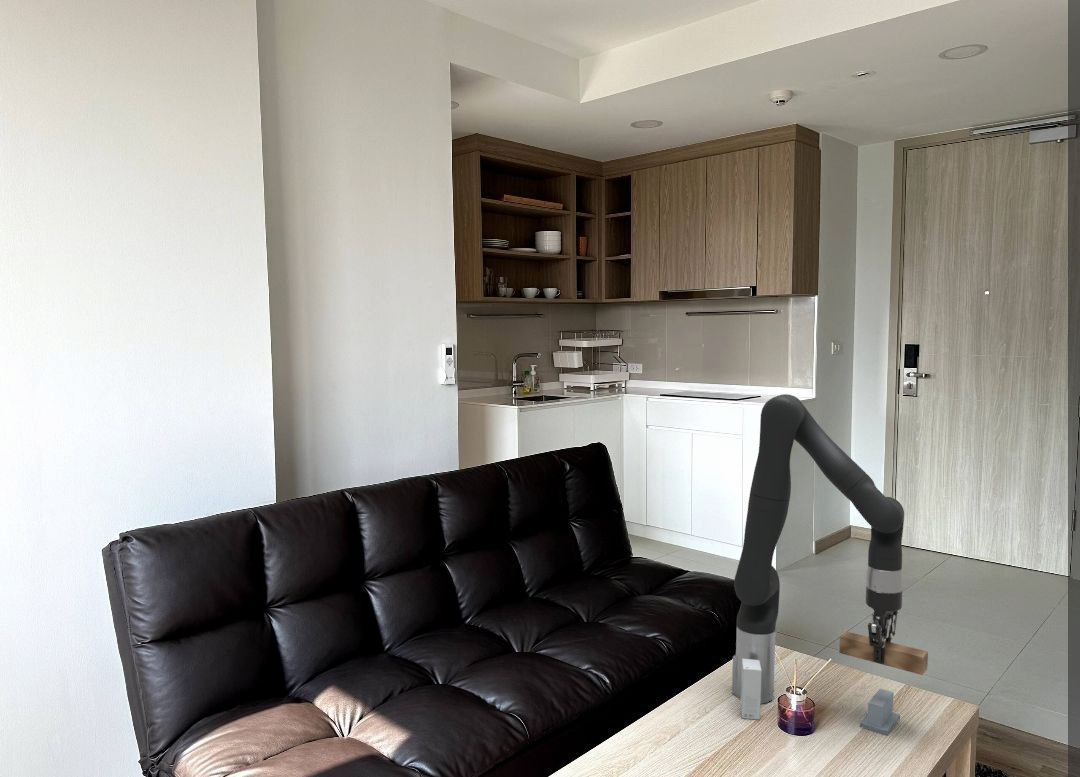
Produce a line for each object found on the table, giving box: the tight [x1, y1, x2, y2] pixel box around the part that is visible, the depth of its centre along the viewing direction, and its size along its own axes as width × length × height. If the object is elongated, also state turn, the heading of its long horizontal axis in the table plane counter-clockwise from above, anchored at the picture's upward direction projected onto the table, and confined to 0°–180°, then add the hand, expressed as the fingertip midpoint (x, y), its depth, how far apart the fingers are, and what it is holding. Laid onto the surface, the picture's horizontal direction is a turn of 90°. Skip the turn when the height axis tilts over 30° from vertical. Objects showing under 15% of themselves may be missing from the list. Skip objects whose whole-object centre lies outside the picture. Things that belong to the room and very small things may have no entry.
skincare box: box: [740, 659, 761, 721], centre depth 183 cm, size 6×4×12 cm
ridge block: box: [859, 688, 901, 736], centre depth 179 cm, size 6×10×6 cm, turn 141°
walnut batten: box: [838, 630, 929, 676], centre depth 177 cm, size 18×4×4 cm, turn 49°
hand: (881, 659), depth 177 cm, fingers closed on walnut batten, 4 cm apart
